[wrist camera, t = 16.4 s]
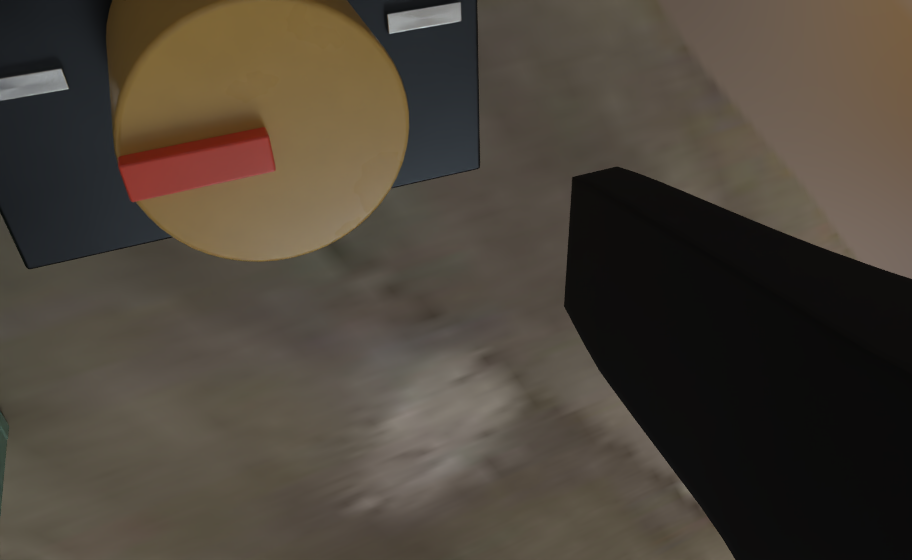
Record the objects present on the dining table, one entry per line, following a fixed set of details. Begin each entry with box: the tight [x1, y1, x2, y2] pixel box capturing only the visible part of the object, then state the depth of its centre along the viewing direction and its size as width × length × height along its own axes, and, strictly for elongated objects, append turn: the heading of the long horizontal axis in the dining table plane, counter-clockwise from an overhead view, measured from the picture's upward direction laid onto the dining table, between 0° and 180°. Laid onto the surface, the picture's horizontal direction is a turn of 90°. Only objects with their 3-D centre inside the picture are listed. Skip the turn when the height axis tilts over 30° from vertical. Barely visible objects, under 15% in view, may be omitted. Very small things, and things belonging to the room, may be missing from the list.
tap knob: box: [106, 0, 409, 262], centre depth 12 cm, size 4×4×4 cm
